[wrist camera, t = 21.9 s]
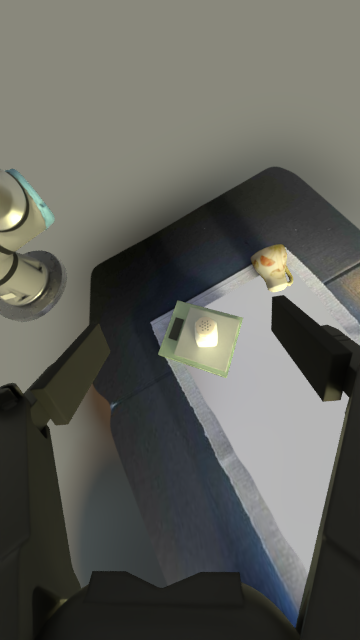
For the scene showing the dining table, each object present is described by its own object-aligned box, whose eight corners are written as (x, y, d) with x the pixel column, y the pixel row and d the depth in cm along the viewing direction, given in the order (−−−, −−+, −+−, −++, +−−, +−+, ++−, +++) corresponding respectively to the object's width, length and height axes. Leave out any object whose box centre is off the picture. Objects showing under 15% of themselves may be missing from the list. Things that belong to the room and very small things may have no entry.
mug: (263, 302, 45) (255, 267, 39) (254, 277, 52) (246, 243, 45) (300, 292, 43) (298, 252, 36) (285, 267, 49) (281, 230, 43)
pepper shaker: (215, 327, 42) (216, 313, 33) (217, 346, 41) (218, 336, 32) (196, 329, 42) (192, 314, 33) (197, 347, 41) (193, 338, 32)
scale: (160, 355, 45) (156, 353, 42) (179, 303, 48) (176, 299, 45) (225, 378, 41) (226, 377, 39) (241, 320, 44) (243, 316, 42)
